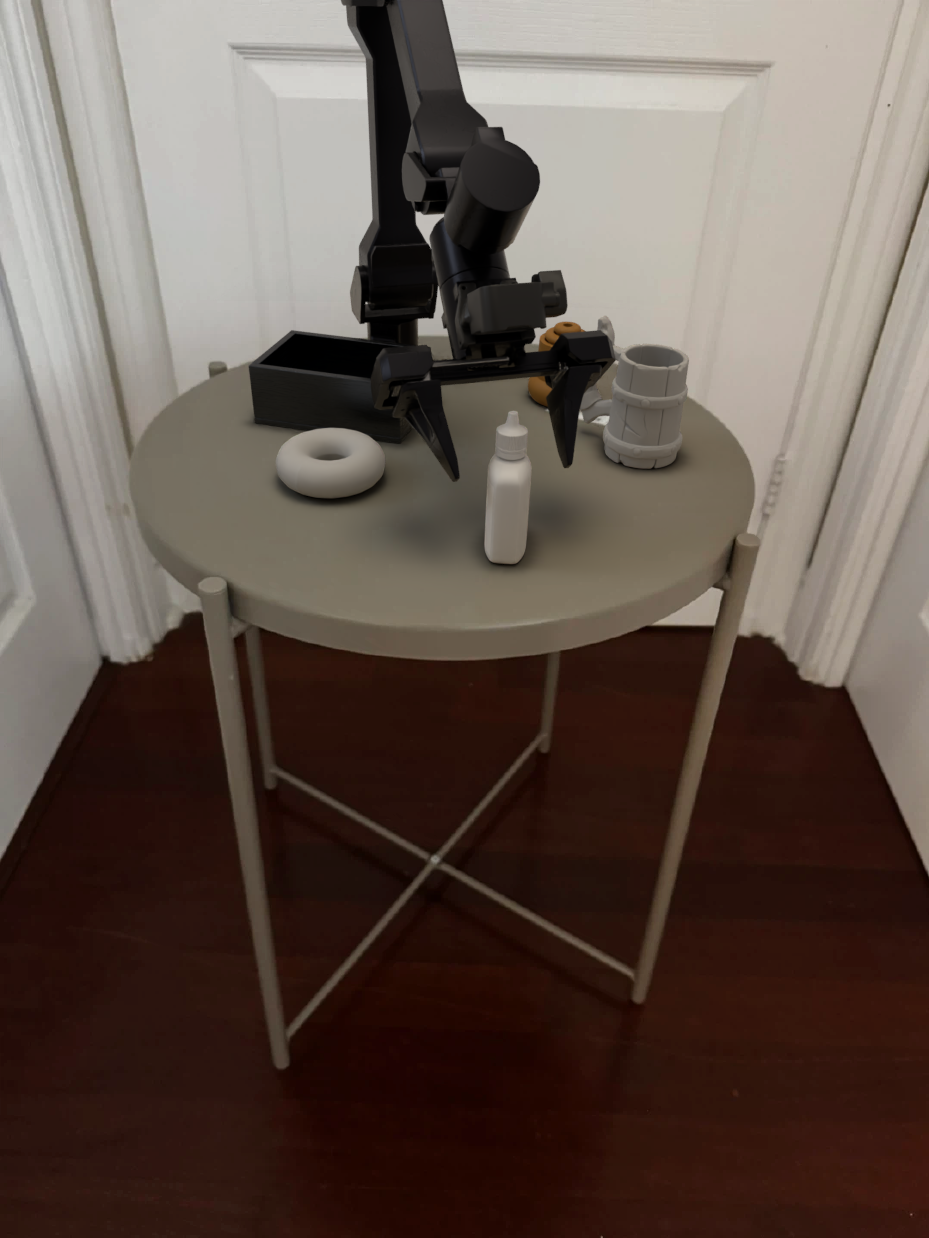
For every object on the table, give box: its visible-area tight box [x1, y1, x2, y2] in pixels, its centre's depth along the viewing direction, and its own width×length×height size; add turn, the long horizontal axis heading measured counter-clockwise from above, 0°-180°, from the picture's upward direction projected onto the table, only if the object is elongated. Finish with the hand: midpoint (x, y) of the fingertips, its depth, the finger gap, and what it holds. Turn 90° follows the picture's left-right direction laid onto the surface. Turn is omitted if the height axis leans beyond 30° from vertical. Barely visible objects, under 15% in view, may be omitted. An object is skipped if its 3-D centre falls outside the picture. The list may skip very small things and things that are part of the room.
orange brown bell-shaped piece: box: [527, 321, 598, 408], centre depth 100 cm, size 8×8×8 cm
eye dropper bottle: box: [484, 410, 533, 565], centre depth 74 cm, size 4×6×12 cm
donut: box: [274, 428, 387, 499], centre depth 86 cm, size 10×4×10 cm
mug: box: [580, 315, 690, 470], centre depth 90 cm, size 8×12×12 cm, turn 48°
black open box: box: [248, 329, 432, 445], centre depth 96 cm, size 11×16×6 cm
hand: (513, 473), depth 73 cm, fingers open, 9 cm apart
